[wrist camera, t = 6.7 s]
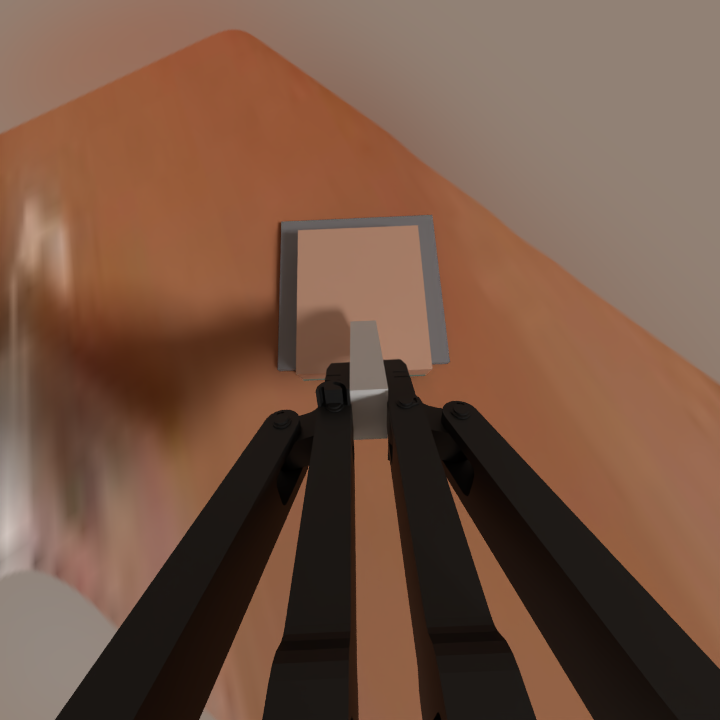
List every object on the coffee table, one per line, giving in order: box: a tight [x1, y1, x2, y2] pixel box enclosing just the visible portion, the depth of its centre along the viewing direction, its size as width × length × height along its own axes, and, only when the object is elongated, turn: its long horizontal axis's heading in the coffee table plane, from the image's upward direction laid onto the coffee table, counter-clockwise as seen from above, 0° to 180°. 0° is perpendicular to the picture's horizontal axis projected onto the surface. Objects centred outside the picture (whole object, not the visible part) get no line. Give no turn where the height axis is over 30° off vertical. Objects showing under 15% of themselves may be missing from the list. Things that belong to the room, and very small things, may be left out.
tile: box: [296, 225, 432, 381], centre depth 21 cm, size 9×2×11 cm
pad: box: [278, 215, 450, 371], centre depth 23 cm, size 13×13×1 cm
